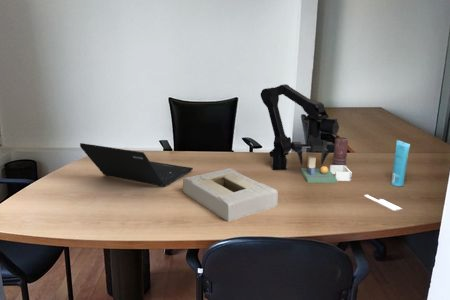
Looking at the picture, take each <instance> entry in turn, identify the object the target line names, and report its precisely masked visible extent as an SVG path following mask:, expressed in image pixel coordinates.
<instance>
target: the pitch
mask: <svg viewBox="0 0 450 300" xmlns="http://www.w3.org/2000/svg"><path fill="white" fill-rule="evenodd" d="M320 168H321V167H320ZM320 168H318V167H317V168H316V167H315V168H314V169H315V171H314V175H310V173H309V172H308V167H307V168H306V167H304V168H303V167H302V168H300V173H301V174H302V176H303V177H304V179H305V181H306V182H307V184H308V183H309V184H310V183H311V184H312V183H313V184H317V183H318V184H322V183H323V184H329V183H330V184H331V183H332V184H338V181H337V179H336V177H335V174H332V172H331V171H330V168H328V172H327V173H326V174H322V173H321V172H320Z"/></svg>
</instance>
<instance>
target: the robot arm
mask: <svg viewBox="0 0 450 300" xmlns="http://www.w3.org/2000/svg"><path fill="white" fill-rule="evenodd" d="M282 95H283V96H285V97H286V98H288V99H289V100H291V101H292V102H294V103H295V104H297V105H299V106H300V107H301V108H302V110H303V111H304V112H305V113H306V114H307V116H305V117H303V120H304V121H307V131H306V140H305V141H306V143H302V142H301V141H292V139H291V137H290V136H289V137H288V136H287V135H286V133H285V129H284V125H283V121H282V117H281V114H280V110H279V100H280V96H282ZM260 98H261V100H262V103H263V104H264V105H265V107H266V108H267V111H268V115H269V119H270V124H271V127H272V131H273V134H274V135H273V136H274V140H273V149H272V150H271V151H269V156H270V157H271V165H270V167H271V169H272V170H273V171H276V170H277V171H280V170H281V171H282V170H283V171H286V170H287V166H288V159H287V156H288V155H289V153H291V150H292V151H294V152H295V153H296V154H297V156H298V159H299V163H300V165H301V166H302V165H303V151H302V150H303V149H310V151H311V152H313V153H315V152H320V153H321V157H320V165H322V166H323V164H324V162H325V161H326V157H328V155H329V154H331V153H332V152H334V151H335V143H333V142H332V141H328V140H327V139H322V135H321V133H323V134H328V135H331V136H332V135H333V136H336V135H337V134H338V132H339V130H340V125H339V122H338V118H331V117H329V114H328V113H327V111H326V109H325V105H324V103H323V102H320V101H318V100H315V99H311V98H309V97H307V96H305V95H304V94H302V93H300V92H299V91H297V90H296V89H294V88H293V87H291V86H290V85H289V84H280V85H278V86H275V87H267V88H263V89H262V90H261V92H260Z"/></svg>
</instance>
